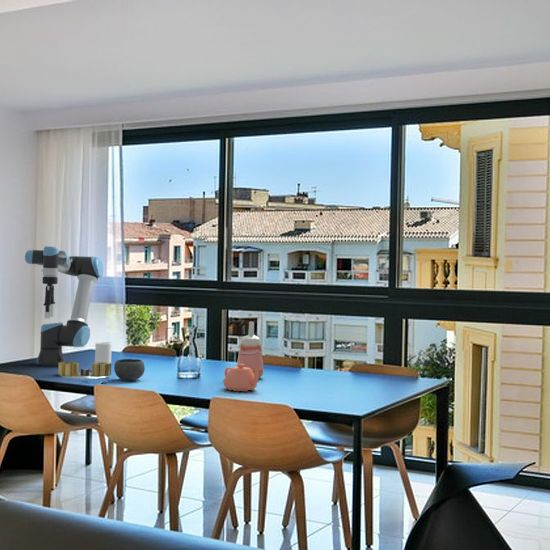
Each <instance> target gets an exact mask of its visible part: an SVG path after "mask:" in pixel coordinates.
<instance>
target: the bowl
mask: <svg viewBox="0 0 550 550" xmlns="http://www.w3.org/2000/svg"><path fill="white" fill-rule="evenodd" d="M113 369H114V374H115V375H116V376H117V377H118V378H119V379H120V380H123V381H125V382H126V381H127V382H128V381H129V382H132V381H133V382H134V381H136V380H139V379H140V378H141V377H143V375H144V373H145V371H146V370H145V369H146V368H145V363H144V361H143V360H142V359H140V358H139V359H138V358H121V359H116V361H115V362H114V367H113Z"/></svg>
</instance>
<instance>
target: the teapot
mask: <svg viewBox="0 0 550 550" xmlns="http://www.w3.org/2000/svg"><path fill="white" fill-rule="evenodd" d="M261 368H262V367H261ZM261 368H257V369H256V371H255V375H254V373H253V371H252V370H251V369H250V368H248V367H244V364H238V367H237V366H233V367H231V366H230V367H229V366H228V367H226V368H225V370H224V379H222V380H223V381H222V382H223V386H224V388H225V389H226V390H227V389H228V390H227V391H230V390H233V391H232V392H239V391H244V392H249V391H248V390H252V391H254V390H255V389H256V388H257V385H258V383H259V380H260V378H259V371H260V369H261ZM253 389H254V390H253Z"/></svg>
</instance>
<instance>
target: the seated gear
mask: <svg viewBox="0 0 550 550" xmlns="http://www.w3.org/2000/svg"><path fill="white" fill-rule="evenodd" d="M90 368H91V371H90V372H91V375H92V376H101V377H103V378H105V377H104V376H108V377H110V376H112V362H111V363H108V362H95V361H94V362H91V367H90Z"/></svg>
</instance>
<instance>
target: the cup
mask: <svg viewBox="0 0 550 550" xmlns="http://www.w3.org/2000/svg"><path fill="white" fill-rule="evenodd" d="M112 345H113V344H112V342H108V341H107V342H106V341H105V342H104V341H101V342H100V341H99V342H98V341H97V342H95V349H94V353H95V355H94V362H108V363H111V364H112Z"/></svg>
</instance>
